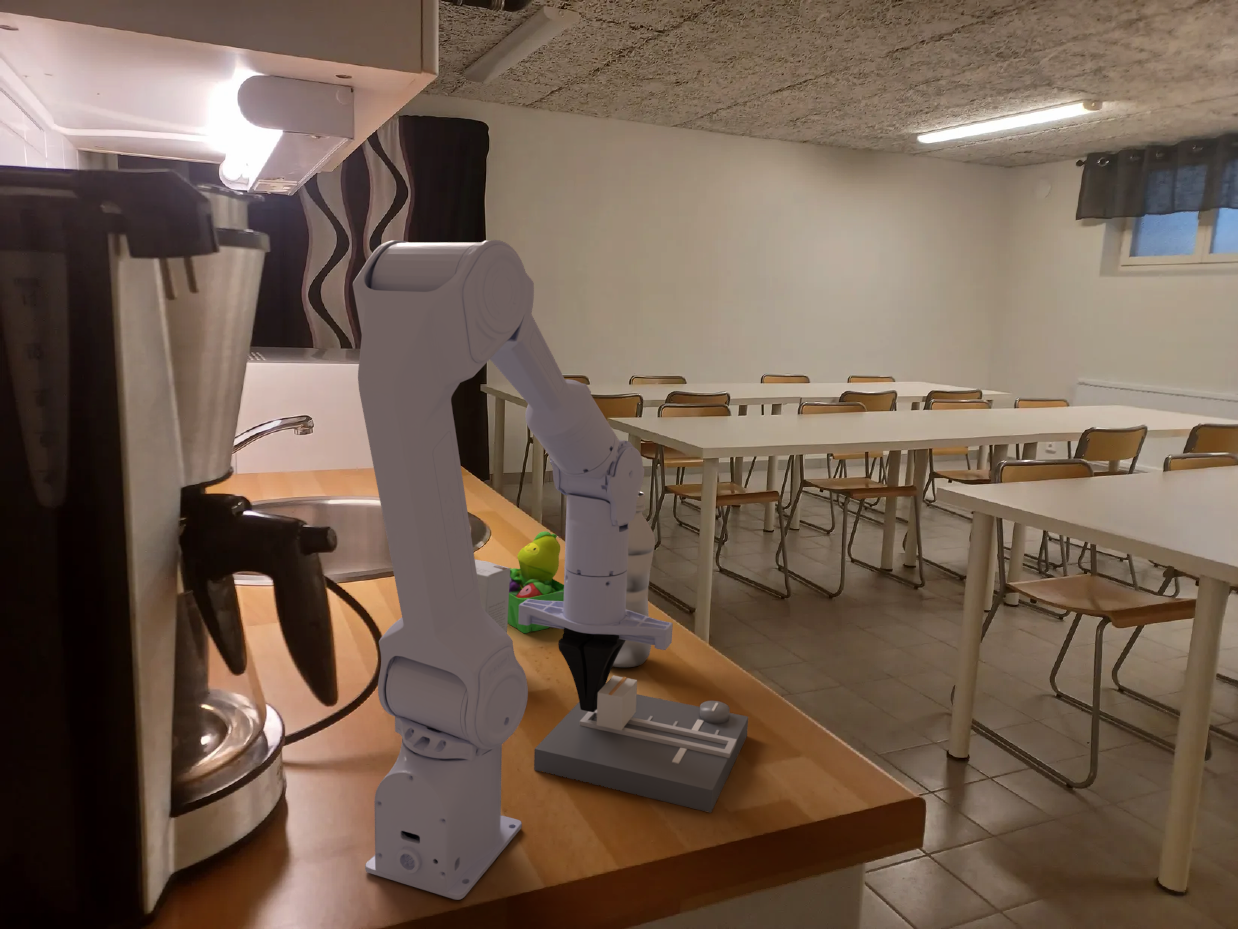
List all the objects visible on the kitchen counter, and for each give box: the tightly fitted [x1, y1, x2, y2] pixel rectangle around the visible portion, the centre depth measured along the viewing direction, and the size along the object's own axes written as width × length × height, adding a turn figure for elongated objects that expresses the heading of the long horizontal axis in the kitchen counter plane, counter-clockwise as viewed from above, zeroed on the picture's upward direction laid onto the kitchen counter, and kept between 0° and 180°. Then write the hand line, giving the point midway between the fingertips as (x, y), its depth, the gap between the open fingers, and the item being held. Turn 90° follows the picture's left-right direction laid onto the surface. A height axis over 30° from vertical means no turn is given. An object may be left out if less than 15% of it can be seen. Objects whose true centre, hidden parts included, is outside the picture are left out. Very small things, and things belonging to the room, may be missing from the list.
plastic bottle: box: [612, 491, 656, 668], centre depth 97 cm, size 6×7×20 cm
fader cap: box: [597, 675, 638, 730], centre depth 79 cm, size 4×2×4 cm, turn 160°
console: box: [533, 693, 749, 813], centre depth 79 cm, size 14×16×3 cm
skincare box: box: [475, 559, 511, 634], centre depth 94 cm, size 6×4×12 cm
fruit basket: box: [507, 530, 564, 634], centre depth 111 cm, size 11×9×11 cm
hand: (590, 706), depth 81 cm, fingers closed
